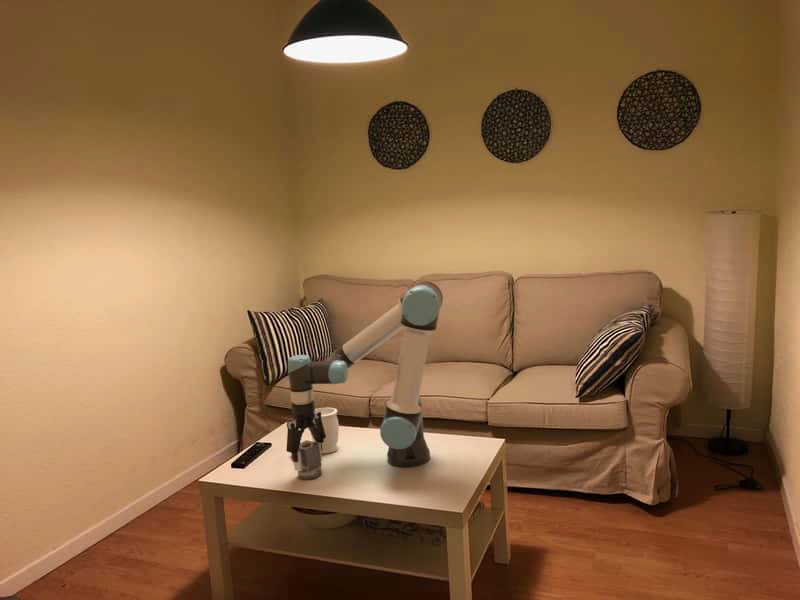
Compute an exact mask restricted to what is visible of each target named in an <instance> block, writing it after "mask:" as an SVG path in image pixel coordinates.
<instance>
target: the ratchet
mask: <svg viewBox="0 0 800 600" xmlns="http://www.w3.org/2000/svg"><path fill="white" fill-rule="evenodd" d="M291 457H292V453H291ZM322 472H323V471H322V465H321V466H319V467H317V468H316V469H314V470H312V471H310V472H306V471H303V470H302V471H297V477H298V479H299V480H301V481H306V482H307V481H313V480H317V479H319V478H320V477H322V475H323V474H322Z"/></svg>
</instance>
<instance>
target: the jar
mask: <svg viewBox="0 0 800 600" xmlns="http://www.w3.org/2000/svg"><path fill="white" fill-rule="evenodd" d="M314 412H320V413H321V420H322V424H323V428H324V431H325V435H326V438H325V439H323V440H324V442H323V443H322V451H321V454H325V455H326V454H331V453H334V452H336V451H337V450H338V449H339V447H338V445H337V443H338V440H339V434H340V433H339V431H340V427H339V426H340V425H339V419H338V416H337V414H338V409H337V408H336V407H335V408H334V407H319V408H315V411H314ZM313 422H314V419H313ZM314 423H315V422H314ZM315 427H316V426H315ZM310 435H311V439H312V442H316V441H315V439H314V437H313V436H312V434H311V433H310Z"/></svg>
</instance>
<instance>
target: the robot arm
mask: <svg viewBox="0 0 800 600" xmlns="http://www.w3.org/2000/svg"><path fill="white" fill-rule="evenodd" d="M443 297H444V296H443V293H442V290H441V289H440V288H439V286H438V285H437V284H436V283H434V282H431V281H426V280H424V281H419V282H417V283H416V284H414V285H413V286H412V287H410V289H409V290H407V291H406V292H405V294H404V295H403V296H402V297H401V298H399V300H398V303H397V304H396V305H395V306H393V307H392V308H390V309H389V310H388V311H386V312H385V313H384V314H383V315H382V316H380V317H379V318H378V319H376V320H375V321H374V322H372V323H371V324H370V325H368V326H367V327H365V328H364V329H363V330H362V331H360V332H359V333H357V334H356V335H355V336H354V337H352V338H350V340H348V341H347V342H346V343H344V344H343V345H342V346H340V347H339V348H338V349H335V350H334V351H332V352H331V354H329V356H328V357H327V358H326V359H325V360H321V361H312V360H311V357H310V355H307V354H297V355H293V356H290V357H289V358H288V360H287V374H288V380H289V381H288V382H289V392H290V401H291V411H292V415H293V420H292V421H290V422H286V427H287V435H286V436H287V437H286V438H287V439H286V452H287V453H292V456H291V457H292V458H291V460H292V462H293V465H294V470H295V471H297V472H298V471H302V465H301V455H300V452H298V450H299V446H300V443H302V442H301V441H302V437H303V434H304V433H305V430H306V429H308V431H310V435H311V434H312V435H311V437H312V436H313V437H314V439H315V441H316V443H319V449H320V457H321V462H323V455H322V454H321V451H322V443H323V442H324V440H323V439H325V438H326V435H325V431H324V428H323V424H322V420H321V413H320V412H314V411H315V409H316V407H315V401H314V400H315V399H314V398H315V396H314V390H313V389H314V387H313V385H338V384H345V383H346V381H348V380H347V379H348V375H349V372H348V371H349V370H348V369H349V368H351V367H352V366H354V365H355V364H356V363H357V362H359V361H360V360H361V359H363V358H364V357H365V356H367V355H368V354H370V353H371V352H373V351H374V350H375V349H376V348H378V347H379V346H381V345H382V344H383V343H385V342H386V341H387V340H389V339H390V338H392V337H393V336H394V335H395V334H397V333H399V332H400V331H401V330H403V333H402V339H401V346H400V351H399V352H400V353H399V356H398V362H397V367H396V374H395V379H394V385H393V392H392V396H390V397H388V399H387V401H386V403H385V404H386V405H385V410H384V416H383V421H382V423H381V425H380V430H379V433H380V438H381V440H382V442H383V443H384V444H385V445H386V446H388V449H387V455H386V458H387V463H388V464H390V465H391V466H393V467H394V466H395V467H399V468H400V467H401V468H411V467H417V466H421V465H423V464H426V463H428V462H429V461H430V460H431V452H430V448H429V447H428V445H427V444H428V443H427V442H426V439H425V436H424V435H425V434H424V423H423V422H424V420H423V409H422V408H423V406H422V405H423V403H422V399H421V396H420V394H421V393H420V392H421V388H422V381H423V377H424V370H425V365H426V360H427V355H428V348H429V344H430V339H431V334H432V333H433V332H435V331H437V325H438V320H439V315H440V310H441V307H442V305H443V300H444V299H443ZM313 419H314V422H315V423H314V422H313ZM315 426H316V427H315Z"/></svg>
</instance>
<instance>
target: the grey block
mask: <svg viewBox="0 0 800 600" xmlns="http://www.w3.org/2000/svg"><path fill="white" fill-rule="evenodd" d="M298 452H300V455H301V465H302V470H303V471H306V472H310V471H312V470H314V469H316V468H317V467H319V466H321V467H322V464H323V463H322V461H321V457H320V449H319V443H316V442H313V440H312V441H311V440H307V439H306V440H304V441H302V442H300V446H299V450H298Z"/></svg>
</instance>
